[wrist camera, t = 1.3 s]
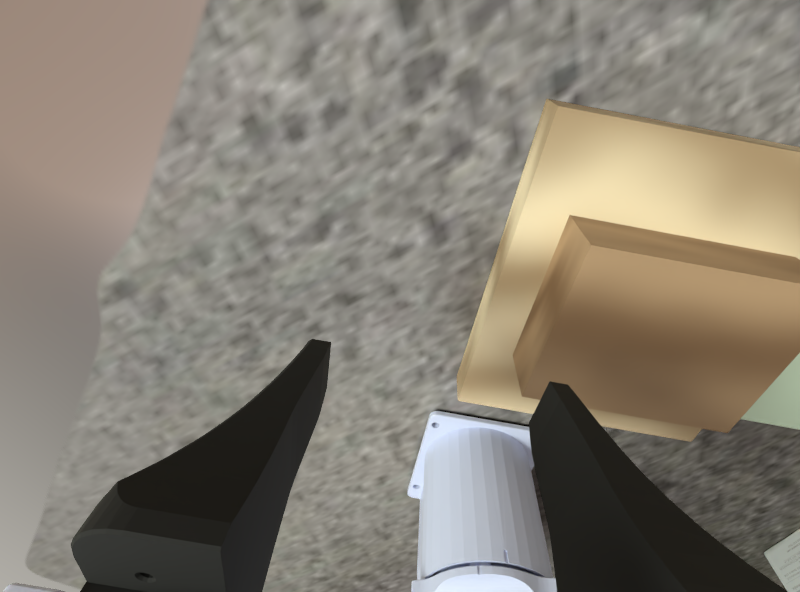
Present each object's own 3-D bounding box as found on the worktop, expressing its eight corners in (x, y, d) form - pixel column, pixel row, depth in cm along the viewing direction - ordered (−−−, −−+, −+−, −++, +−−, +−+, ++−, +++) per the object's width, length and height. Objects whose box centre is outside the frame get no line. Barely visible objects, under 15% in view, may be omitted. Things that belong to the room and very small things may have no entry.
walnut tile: (694, 387, 22) (727, 433, 20) (512, 355, 22) (521, 396, 20) (795, 256, 18) (852, 293, 16) (569, 214, 18) (590, 245, 15)
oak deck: (675, 415, 26) (691, 441, 25) (456, 376, 26) (457, 400, 24) (870, 160, 18) (915, 174, 16) (546, 98, 17) (558, 105, 16)
